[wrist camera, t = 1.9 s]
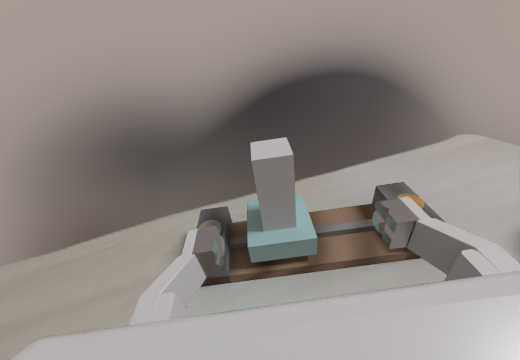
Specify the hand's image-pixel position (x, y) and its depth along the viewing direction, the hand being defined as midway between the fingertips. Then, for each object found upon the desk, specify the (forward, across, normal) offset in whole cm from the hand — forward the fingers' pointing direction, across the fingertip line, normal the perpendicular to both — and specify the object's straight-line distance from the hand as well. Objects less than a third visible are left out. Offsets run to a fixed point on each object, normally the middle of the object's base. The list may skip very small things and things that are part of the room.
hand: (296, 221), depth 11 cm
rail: (+12, -3, +18) cm, 22 cm away
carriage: (+12, +1, +15) cm, 19 cm away
